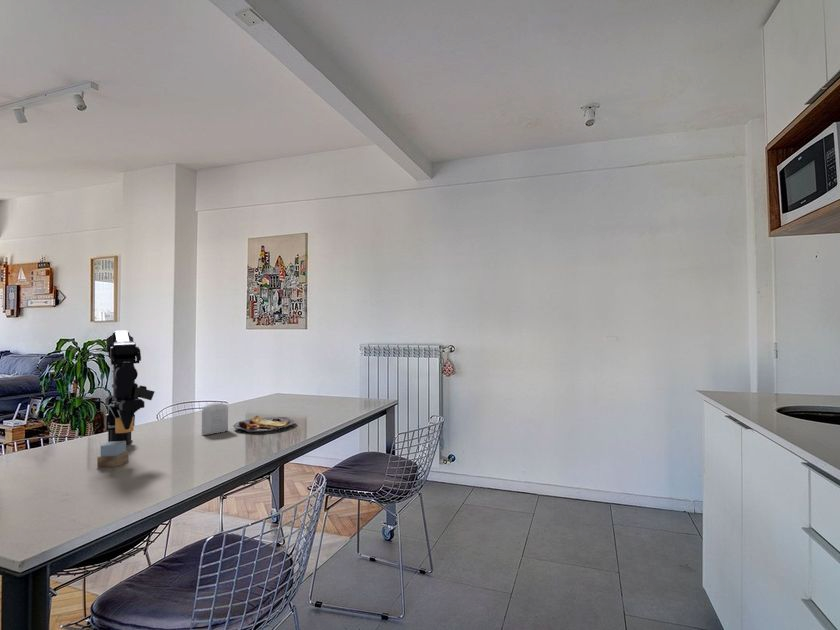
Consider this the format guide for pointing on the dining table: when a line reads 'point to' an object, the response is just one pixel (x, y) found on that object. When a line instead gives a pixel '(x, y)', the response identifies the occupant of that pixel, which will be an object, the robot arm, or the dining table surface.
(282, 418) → the food plate
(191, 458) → the dining table surface
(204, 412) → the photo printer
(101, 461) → the walnut base block
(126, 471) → the dining table surface
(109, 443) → the slate top block
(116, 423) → the orange cylinder
